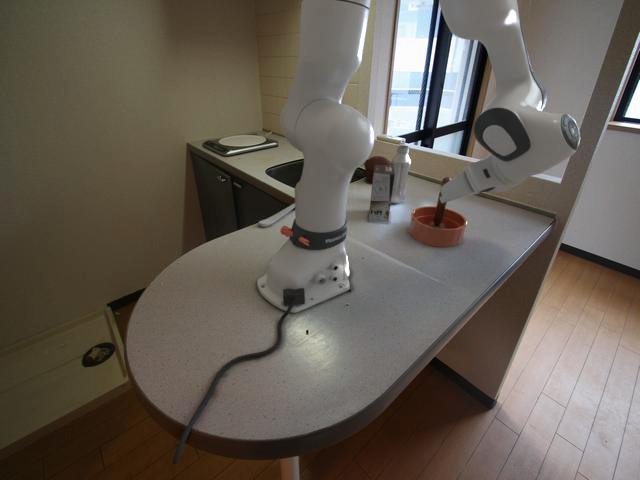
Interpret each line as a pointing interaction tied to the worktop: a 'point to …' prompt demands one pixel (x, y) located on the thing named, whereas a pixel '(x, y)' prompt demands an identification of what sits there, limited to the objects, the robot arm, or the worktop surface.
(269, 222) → the spoon
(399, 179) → the plastic bottle
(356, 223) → the worktop surface
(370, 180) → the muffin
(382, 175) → the coffee box
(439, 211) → the stirring stick
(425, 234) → the bowl
